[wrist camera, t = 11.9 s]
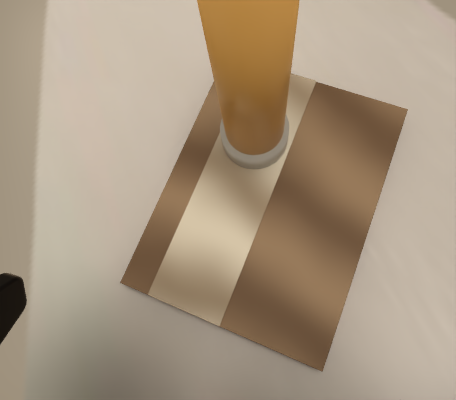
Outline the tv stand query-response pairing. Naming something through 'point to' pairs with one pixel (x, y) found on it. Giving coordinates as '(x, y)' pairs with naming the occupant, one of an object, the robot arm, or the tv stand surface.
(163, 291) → the subfloor panel
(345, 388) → the tv stand surface
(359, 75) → the tv stand surface
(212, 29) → the orange rounded post
